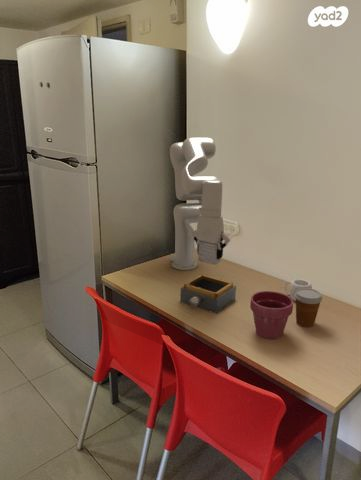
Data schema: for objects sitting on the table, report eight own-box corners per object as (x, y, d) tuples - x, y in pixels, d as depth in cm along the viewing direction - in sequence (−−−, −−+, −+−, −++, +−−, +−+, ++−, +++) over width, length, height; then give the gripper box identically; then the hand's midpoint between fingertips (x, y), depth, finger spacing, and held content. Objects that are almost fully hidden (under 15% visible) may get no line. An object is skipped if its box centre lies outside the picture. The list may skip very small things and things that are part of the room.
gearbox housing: (175, 304, 156) (175, 287, 154) (200, 289, 171) (201, 273, 168) (211, 317, 147) (212, 299, 145) (235, 299, 161) (236, 282, 159)
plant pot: (260, 318, 147) (263, 286, 143) (296, 330, 139) (300, 297, 135) (240, 333, 136) (243, 300, 133) (278, 348, 128) (281, 313, 124)
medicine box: (220, 262, 155) (222, 241, 152) (215, 265, 151) (216, 244, 149) (203, 257, 159) (204, 237, 156) (197, 261, 155) (198, 240, 153)
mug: (314, 300, 161) (316, 283, 159) (302, 306, 156) (304, 288, 154) (290, 290, 170) (292, 273, 168) (277, 295, 165) (279, 278, 163)
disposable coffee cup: (288, 325, 142) (292, 295, 138) (294, 314, 150) (298, 285, 146) (316, 332, 138) (320, 301, 134) (320, 320, 146) (324, 290, 142)
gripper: (186, 211, 151) (186, 253, 156) (226, 218, 141) (224, 263, 147) (197, 207, 157) (196, 249, 162) (236, 214, 147) (233, 258, 153)
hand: (209, 255), depth 154 cm, fingers closed on medicine box, 8 cm apart
